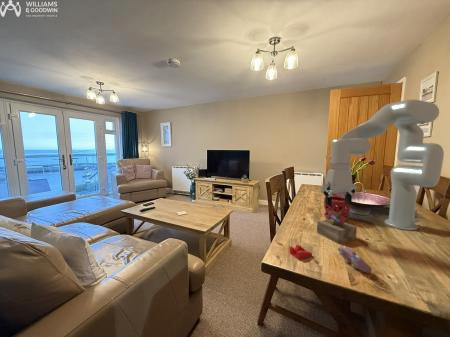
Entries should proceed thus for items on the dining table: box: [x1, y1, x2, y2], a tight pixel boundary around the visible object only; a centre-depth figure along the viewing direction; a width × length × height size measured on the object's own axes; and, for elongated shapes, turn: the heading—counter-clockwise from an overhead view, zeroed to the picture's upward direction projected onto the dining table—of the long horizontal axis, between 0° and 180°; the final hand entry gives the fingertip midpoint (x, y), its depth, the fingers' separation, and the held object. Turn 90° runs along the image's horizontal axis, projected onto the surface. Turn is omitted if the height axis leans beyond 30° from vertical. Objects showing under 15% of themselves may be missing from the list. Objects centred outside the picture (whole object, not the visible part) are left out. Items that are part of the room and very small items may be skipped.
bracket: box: [289, 244, 313, 261], centre depth 71 cm, size 6×5×3 cm
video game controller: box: [337, 245, 373, 274], centre depth 65 cm, size 10×5×7 cm, turn 5°
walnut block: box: [316, 218, 358, 245], centre depth 86 cm, size 11×11×6 cm
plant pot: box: [323, 195, 351, 221], centre depth 108 cm, size 13×13×12 cm
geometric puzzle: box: [328, 210, 348, 226], centre depth 86 cm, size 7×7×8 cm
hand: (338, 204), depth 85 cm, fingers open, 9 cm apart
